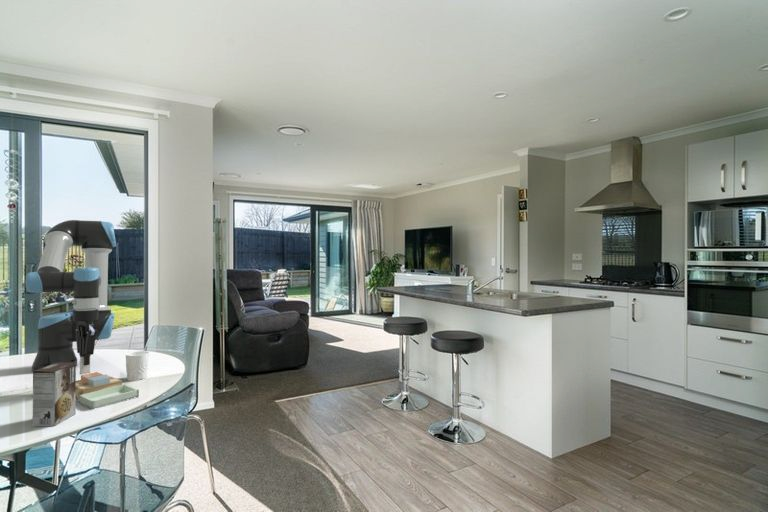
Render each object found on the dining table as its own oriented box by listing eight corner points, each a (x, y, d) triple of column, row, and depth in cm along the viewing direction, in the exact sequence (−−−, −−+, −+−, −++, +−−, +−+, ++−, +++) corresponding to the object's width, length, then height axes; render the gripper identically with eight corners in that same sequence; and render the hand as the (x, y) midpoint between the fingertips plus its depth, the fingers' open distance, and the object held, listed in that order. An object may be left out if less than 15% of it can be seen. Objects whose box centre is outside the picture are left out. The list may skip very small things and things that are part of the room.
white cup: (137, 382, 156) (137, 356, 156) (120, 380, 158) (120, 355, 158) (152, 376, 164) (153, 351, 164) (136, 374, 166) (136, 350, 166)
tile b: (87, 383, 141) (87, 378, 141) (103, 380, 145) (103, 374, 145) (93, 386, 138) (93, 380, 138) (109, 382, 143) (110, 377, 143)
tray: (79, 402, 134) (79, 395, 134) (124, 391, 146) (125, 384, 146) (92, 409, 129) (92, 401, 129) (138, 396, 140) (138, 389, 140)
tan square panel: (67, 393, 142) (67, 382, 142) (105, 385, 152) (105, 374, 152) (82, 401, 135) (83, 389, 135) (121, 391, 145) (122, 380, 145)
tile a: (80, 380, 144) (80, 375, 144) (96, 377, 148) (96, 372, 148) (86, 383, 141) (86, 377, 141) (102, 379, 146) (103, 374, 146)
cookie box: (54, 414, 124) (55, 362, 124) (76, 414, 125) (77, 362, 125) (30, 426, 115) (31, 370, 115) (54, 426, 116) (55, 370, 116)
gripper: (66, 308, 148) (65, 372, 148) (81, 311, 141) (80, 379, 141) (90, 306, 155) (89, 368, 155) (105, 309, 148) (104, 374, 147)
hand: (84, 373), depth 148 cm, fingers closed
